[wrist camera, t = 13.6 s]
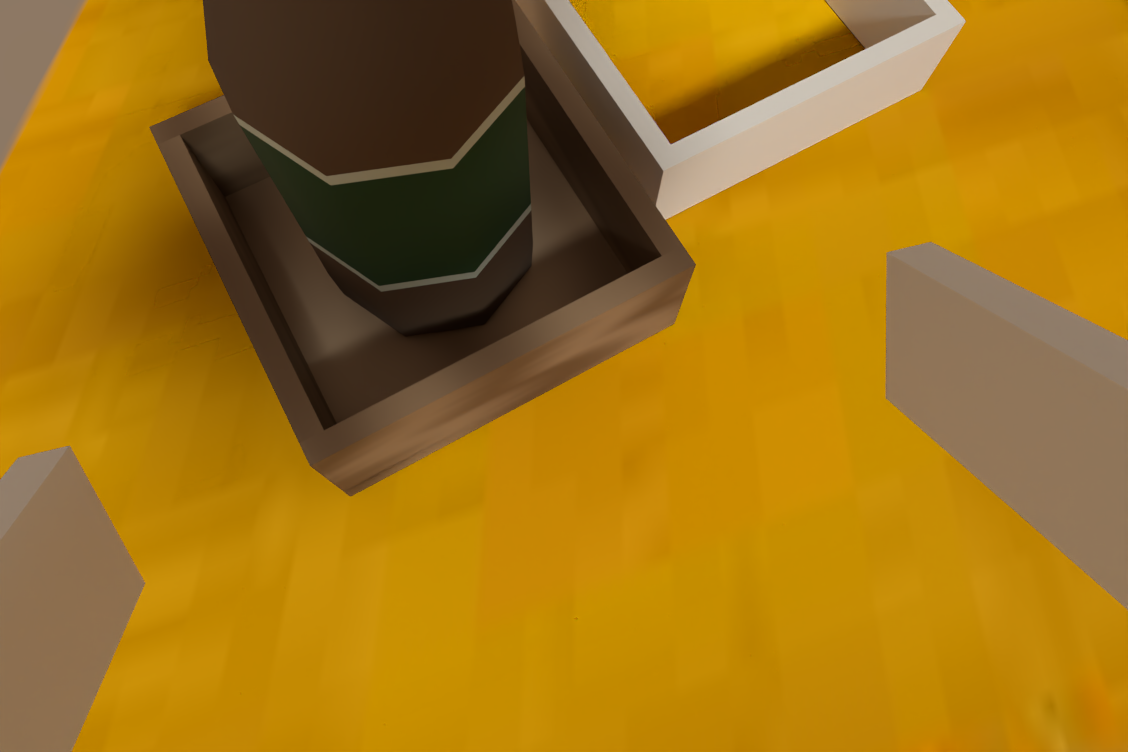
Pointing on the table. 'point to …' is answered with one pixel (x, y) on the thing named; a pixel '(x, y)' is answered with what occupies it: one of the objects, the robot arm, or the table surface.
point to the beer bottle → (390, 144)
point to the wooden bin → (446, 358)
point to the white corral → (767, 128)
